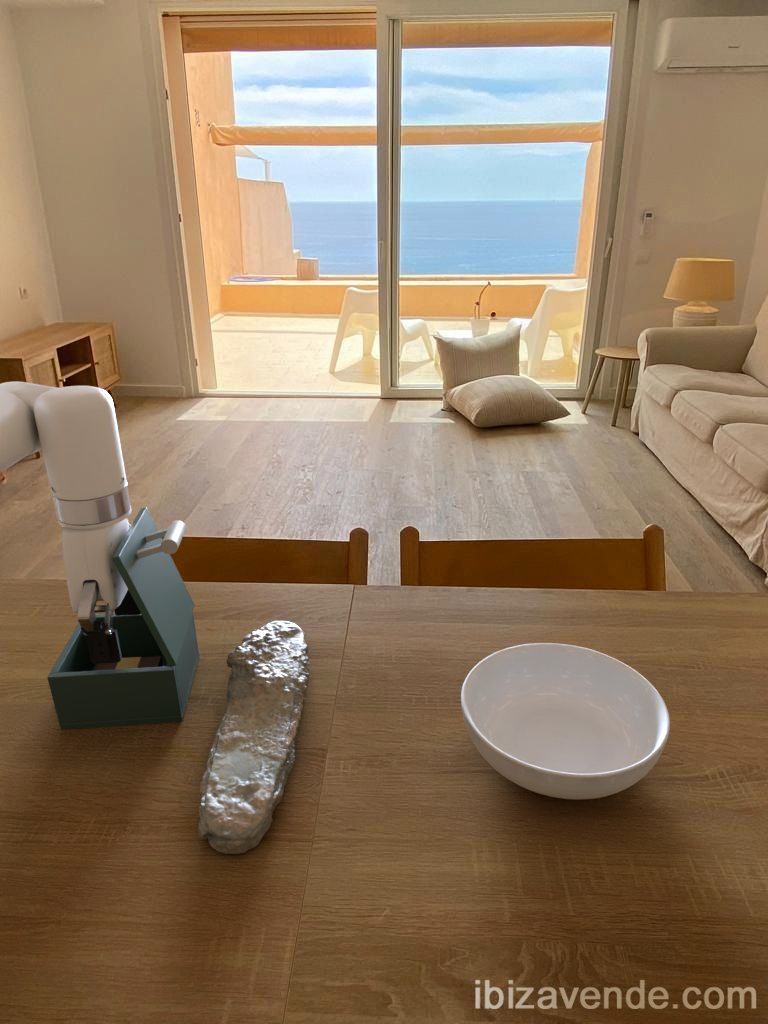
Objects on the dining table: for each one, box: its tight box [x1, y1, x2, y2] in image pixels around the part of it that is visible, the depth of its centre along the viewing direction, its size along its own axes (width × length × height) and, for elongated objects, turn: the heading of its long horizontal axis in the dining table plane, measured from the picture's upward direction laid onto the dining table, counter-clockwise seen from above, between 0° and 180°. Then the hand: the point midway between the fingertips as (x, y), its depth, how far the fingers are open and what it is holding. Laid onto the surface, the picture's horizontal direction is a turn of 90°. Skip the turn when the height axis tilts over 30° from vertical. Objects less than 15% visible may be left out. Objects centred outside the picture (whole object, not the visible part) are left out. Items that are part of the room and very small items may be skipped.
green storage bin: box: [47, 612, 200, 730], centre depth 83 cm, size 14×13×7 cm
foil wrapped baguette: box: [197, 620, 310, 855], centre depth 78 cm, size 35×5×10 cm
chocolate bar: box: [94, 656, 163, 671], centre depth 84 cm, size 8×4×3 cm, turn 95°
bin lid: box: [112, 506, 196, 667], centre depth 79 cm, size 14×13×5 cm
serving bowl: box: [460, 642, 671, 800], centre depth 73 cm, size 21×21×7 cm
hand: (118, 636), depth 82 cm, fingers open, 9 cm apart
